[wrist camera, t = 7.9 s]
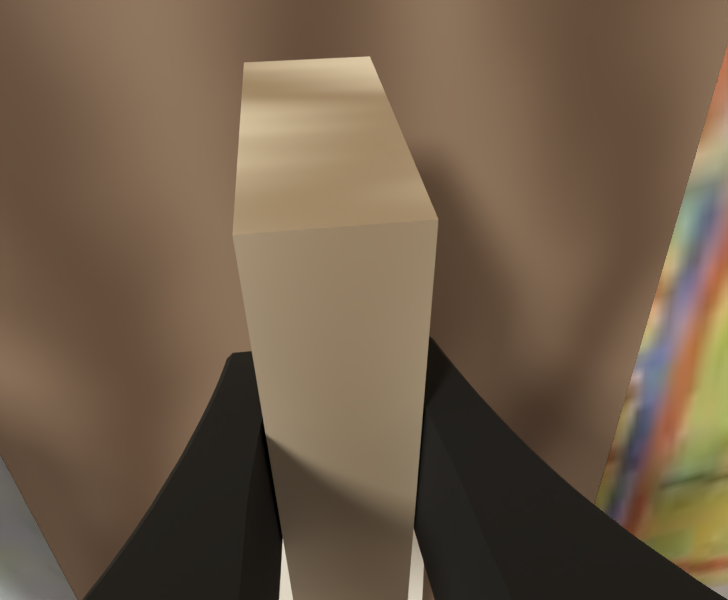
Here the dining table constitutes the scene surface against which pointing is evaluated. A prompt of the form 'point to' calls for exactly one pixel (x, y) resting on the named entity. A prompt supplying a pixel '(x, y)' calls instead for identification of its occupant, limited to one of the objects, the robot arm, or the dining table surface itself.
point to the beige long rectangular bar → (336, 317)
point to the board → (216, 212)
